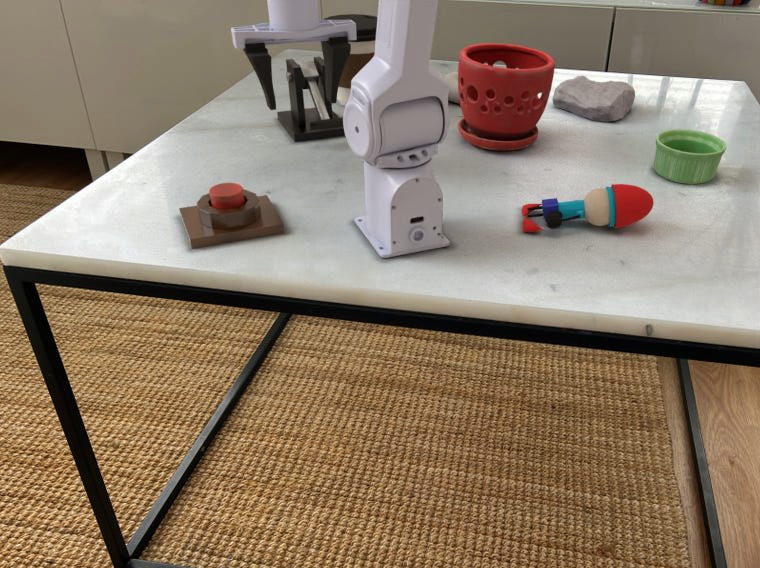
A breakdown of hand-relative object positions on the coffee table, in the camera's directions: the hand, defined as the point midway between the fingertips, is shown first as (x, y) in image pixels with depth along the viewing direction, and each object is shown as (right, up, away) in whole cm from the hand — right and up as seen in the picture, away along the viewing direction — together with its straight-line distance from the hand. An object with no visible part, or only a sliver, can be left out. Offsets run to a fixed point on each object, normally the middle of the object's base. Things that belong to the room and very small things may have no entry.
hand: (302, 104), depth 90 cm
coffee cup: (+4, +9, +26) cm, 28 cm away
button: (-6, -15, -11) cm, 19 cm away
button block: (-6, -17, -9) cm, 20 cm away
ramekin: (+50, -7, +7) cm, 51 cm away
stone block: (+41, +8, +26) cm, 50 cm away
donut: (+22, +11, +29) cm, 38 cm away
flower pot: (+26, 0, +14) cm, 30 cm away
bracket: (-2, +2, +16) cm, 16 cm away
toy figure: (+34, -16, -6) cm, 39 cm away
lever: (0, +4, +11) cm, 12 cm away
